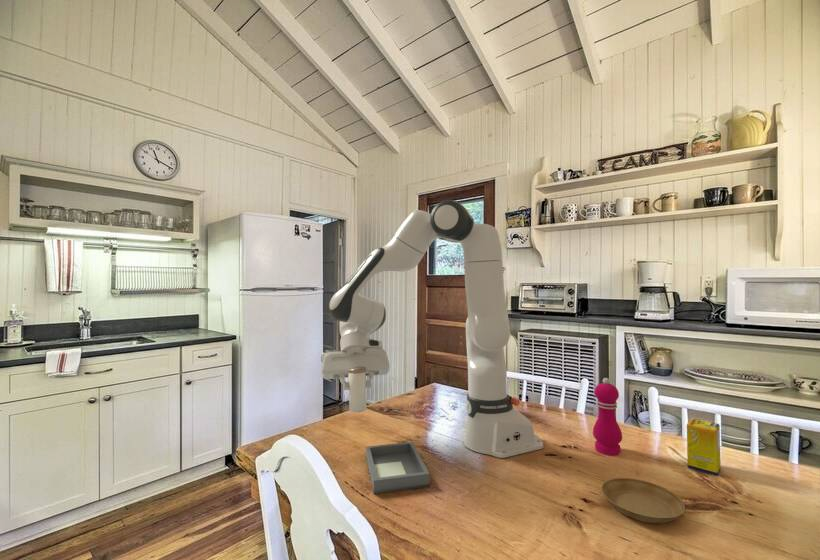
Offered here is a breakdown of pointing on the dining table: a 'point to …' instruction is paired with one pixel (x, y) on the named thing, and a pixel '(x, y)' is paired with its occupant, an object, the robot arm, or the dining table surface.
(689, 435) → the supplement box
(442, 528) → the dining table surface
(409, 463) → the tray
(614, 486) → the plant saucer
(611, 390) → the pepper mill
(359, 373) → the tube
